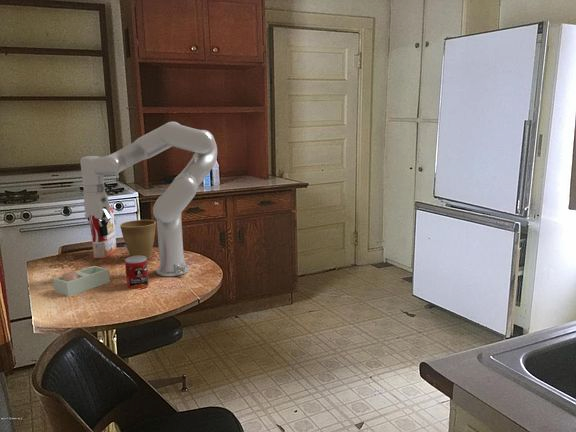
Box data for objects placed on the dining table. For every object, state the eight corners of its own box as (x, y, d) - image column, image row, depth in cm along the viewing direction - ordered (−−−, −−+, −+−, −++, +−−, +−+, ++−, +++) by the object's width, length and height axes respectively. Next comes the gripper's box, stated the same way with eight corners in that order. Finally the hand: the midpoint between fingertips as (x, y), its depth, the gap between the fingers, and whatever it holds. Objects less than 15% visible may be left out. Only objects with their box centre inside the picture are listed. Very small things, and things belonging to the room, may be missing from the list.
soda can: (102, 243, 191) (98, 213, 189) (90, 243, 193) (86, 213, 190) (109, 240, 196) (106, 210, 194) (98, 240, 197) (94, 210, 195)
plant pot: (165, 255, 224) (162, 220, 220) (143, 265, 210) (140, 228, 207) (138, 252, 230) (135, 218, 226) (115, 261, 216) (112, 225, 213)
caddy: (110, 284, 188) (108, 269, 187) (68, 298, 174) (66, 282, 173) (96, 280, 193) (94, 265, 192) (54, 293, 179) (52, 278, 178)
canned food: (129, 292, 179) (126, 262, 177) (125, 285, 186) (122, 257, 184) (151, 288, 183) (148, 259, 180) (146, 281, 190) (144, 254, 187)
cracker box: (106, 258, 220) (102, 212, 216) (93, 259, 220) (88, 212, 216) (117, 250, 234) (113, 206, 230) (105, 250, 234) (100, 206, 230)
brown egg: (82, 289, 180) (80, 273, 179) (69, 294, 176) (67, 277, 175) (73, 287, 183) (72, 271, 182) (60, 291, 179) (58, 275, 178)
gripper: (116, 188, 188) (121, 235, 192) (89, 186, 198) (94, 230, 201) (99, 191, 182) (105, 240, 186) (72, 188, 191) (77, 235, 195)
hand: (99, 234), depth 194 cm, fingers closed on soda can, 4 cm apart
